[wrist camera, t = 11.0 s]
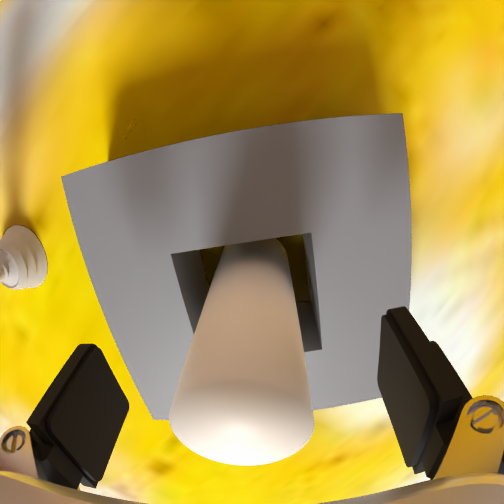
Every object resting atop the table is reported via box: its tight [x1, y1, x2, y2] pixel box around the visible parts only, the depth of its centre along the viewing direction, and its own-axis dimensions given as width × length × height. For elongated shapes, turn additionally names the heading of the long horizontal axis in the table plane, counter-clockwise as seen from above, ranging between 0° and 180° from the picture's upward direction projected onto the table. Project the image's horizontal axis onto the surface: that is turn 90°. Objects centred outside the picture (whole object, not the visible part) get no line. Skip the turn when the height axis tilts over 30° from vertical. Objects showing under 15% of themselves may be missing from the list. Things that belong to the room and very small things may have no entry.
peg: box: [169, 238, 314, 465], centre depth 14 cm, size 4×4×12 cm
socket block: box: [61, 113, 411, 420], centre depth 17 cm, size 15×15×5 cm
